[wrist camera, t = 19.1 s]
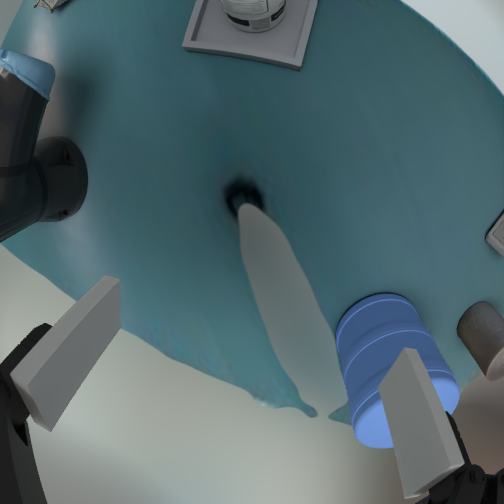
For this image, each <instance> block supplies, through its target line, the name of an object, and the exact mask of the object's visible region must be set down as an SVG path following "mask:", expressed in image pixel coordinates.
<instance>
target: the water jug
mask: <svg viewBox="0 0 504 504" xmlns="http://www.w3.org/2000/svg"><path fill="white" fill-rule="evenodd" d="M336 346H337V350H338V352H339V355H340V359H341V364H342V373H343V379H344V383H345V385H346V389H347V394H348V400H349V406H350V418H351V423H352V427H353V429H354V434H355V437H356V438H357V440H358V441H359V442H360V443H362V444H364V445H366V446H369V447H373V448H391V447H394V446H393V442H392V438H391V434H390V430H389V426H388V422H387V418H386V414H385V411H384V407H383V403H382V400H381V396H380V393H379V389H378V386H379V384H380V383H381V381H382V380H383V379H384V377H385V376H386V374H387V373H388V371H389V370H390V368H391V367H392V365H393V364H394V362H395V361H396V359H397V358H398V356H399V355H400V353H401V352H402V350H403V348H404V347H405V348H412V349H416V350H417V352H418V354H419V356H420V358H421V360H422V362H423V364H424V366H425V368H426V370H427V372H428V374H429V377H430V379H431V381H432V383H433V385H434V387H435V390H436V392H437V394H438V396H439V399H440V401H441V403H442V406H443V408H444V410H445V411H448V413H449V414H450V415H451V414H452V412H453V411H454V409H455V408H456V406H457V404H458V401H459V396H460V390H459V387H458V384H457V382H456V379H455V376H454V374H453V373H452V371H451V369H450V367H449V366H448V365H447V364H446V362H445V360H444V358H443V356H442V355H441V353H440V351H439V349H438V348H437V346H436V343H435V341H434V339H433V337H432V336H431V334H430V332H429V331H428V330H427V329H426V327H425V326H424V324H423V322H422V321H421V319H420V318H419V316H418V313H417V311H416V310H415V308H414V307H413V305H412V304H411V303H410V302H409V301H408V300H407V299H405V298H403V297H401V296H399V295H395V294H378V295H374V296H371V297H368V298H366V299H363V300H362V301H360V302H358V303H357V304H355V305H354V306H353V307H352V308H350V309H349V310H348V311H347V312H346V314H345V315H344V316H343V318H342V319H341V321H340V323H339V325H338V328H337V331H336Z"/></svg>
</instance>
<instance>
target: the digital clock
mask: <svg viewBox="0 0 504 504" xmlns="http://www.w3.org/2000/svg"><path fill="white" fill-rule="evenodd" d="M486 240H487V242H488V243H489V244H490V245H491V246H492V247H493V248H494V249H495V250H496V251H497V252H498V253H499V254H500V255H501V256H502V257H503V258H504V213H503V214H502V215H501V217H500V218H499V219H498V221H497V222H496V223H495V224H494V227H493V228H492V229H491V231H490V232H489V233H488V234H487V236H486Z"/></svg>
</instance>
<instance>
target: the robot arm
mask: <svg viewBox="0 0 504 504" xmlns="http://www.w3.org/2000/svg"><path fill="white" fill-rule="evenodd" d="M54 79H55V69H54V67H53V66H52V65H51V64H49V63H47V62H44V61H42V60H39V59H36V58H33V57H30V56H27V55H24V54H20V53H17V52H13V51H9V50H5V49H2V48H0V242H2V241H4V240H5V239H7V238H9V237H11V236H12V235H14V234H16V233H18V232H19V231H21V230H23V229H25V228H26V227H28V226H30V225H32V224H34V223H36V222H57V221H61V220H64V219H66V218H68V217H70V216H72V215H73V214H75V213H76V212H77V211H78V209H79V208H80V207H81V205H82V203H83V201H84V198H85V195H86V191H87V169H86V165H85V161H84V158H83V156H82V154H81V152H80V150H79V149H78V148H77V146H76V145H75V144H74V143H73V142H72V141H70V140H69V139H67V138H64V137H50V138H46V139H43V140H41V141H39V142H38V143H36V141H37V137H38V133H39V129H40V126H41V122H42V119H43V115H44V112H45V109H46V105H47V102H49V100H50V97H49V95H50V92H51V88H52V85H53V82H54ZM120 328H121V324H120V279H117V278H114V277H111V276H108V275H104V276H103V277H102V278H101V279H100V280H99V281H98V282H97V283H96V284H95V285H94V286H93V287H92V288H91V289H90V290H89V291H88V292H87V293H85V294H84V295H83V296H82V297H81V298H80V299H79V300H78V301H77V302H76V303H75V304H74V305H73V306H72V307H71V308H70V309H69V310H68V311H67V312H66V313H65V315H63V316H62V317H61V319H59V321H58V322H57V323H56V324H55V325H54V326H51V325H49V324H47V323H44V324H42V325H40V326H38V327H36V328H34V329H33V330H32V331H31V332H30V333H29V334H28V335H27V336H26V338H24V339H23V340H22V341H21V342H20V345H19V344H18V346H17V347H16V348H15V349H14V350H13V351H12V352H11V353H10V354H9V355H8V356H7V357H6V358H5V360H4V361H3V362H2V363H1V364H0V504H47V501H46V498H45V495H44V491H43V488H42V485H41V481H40V478H39V474H38V470H37V467H36V462H35V459H34V454H33V449H32V445H31V440H30V434H29V428H28V423H27V421H26V419H27V417H28V416H29V415H31V417H32V418H33V420H34V422H35V423H37V424H38V425H40V426H41V427H43V428H45V429H47V430H48V431H50V432H51V431H52V429H53V428H54V426H55V425H56V423H57V421H58V420H59V418H60V417H61V415H62V413H63V412H64V410H65V409H66V407H67V405H68V404H69V402H70V400H71V399H72V398H73V396H74V395H75V393H76V392H77V390H78V389H79V387H80V386H81V384H82V382H83V381H84V380H85V378H86V377H87V375H88V374H89V372H90V370H91V369H92V367H93V366H94V365H95V363H96V362H97V360H98V358H99V357H100V356H101V355H102V353H103V352H104V350H105V349H106V347H107V346H108V345H109V343H110V342H111V340H112V339H113V338H114V336H115V335H116V333H117V332H118V331H119V329H120ZM378 389H379V393H380V396H381V400H382V403H383V407H384V411H385V414H386V418H387V422H388V426H389V430H390V434H391V438H392V442H393V446H394V450H395V454H396V459H397V464H398V468H399V473H400V478H401V483H402V488H403V493H404V498H405V499H406V498H412V497H417V496H420V495H422V494H423V493H425V492H426V491H427V490H429V494H430V495H428V496H427V497H425V498H423V499H422V500H420V501H419V502H417V503H415V504H504V468H503V469H501V470H500V471H499V472H497V473H496V474H495V475H490V474H485V472H484V470H483V469H482V468H481V467H480V466H478V465H475V464H474V465H472V464H471V462H470V460H469V457H468V454H467V451H466V449H465V446H464V444H463V441H462V438H460V433H459V431H458V430H457V429H458V428H457V426H456V423H455V421H454V419H453V418H452V417H451V415H450V414H449V413H448V411H445V410H444V408H443V406H442V403H441V401H440V399H439V396H438V394H437V392H436V390H435V387H434V385H433V383H432V381H431V379H430V377H429V374H428V372H427V370H426V368H425V366H424V364H423V362H422V360H421V358H420V356H419V354H418V352H417V350H416V349H412V348H405V347H404V348H403V350H402V352H401V353H400V355H399V356H398V358H397V359H396V361H395V362H394V364H393V365H392V367H391V368H390V370H389V371H388V373H387V374H386V376H385V377H384V379H383V380H382V381H381V383H380V384H379V386H378Z"/></svg>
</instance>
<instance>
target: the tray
mask: <svg viewBox="0 0 504 504" xmlns="http://www.w3.org/2000/svg"><path fill="white" fill-rule="evenodd" d="M317 3H318V0H286V11H285V14H284V17H283V19H282V20H281V21H280V22H279V23H278V25H276V26H274V27H273V28H271V29H269V30H266V31H261V32H246V31H243V30H240V29H237V28H236V27H235V26H233V25H232V24H231V23H230V22H229V20H228V19H227V17H226V15H225V13H224V11H223V10H222V8H221V6H220V4H219V2H218V0H196V3H195V6H194V9H193V12H192V15H191V18H190V21H189V24H188V27H187V31H186V34H185V37H184V40H183V44H182V47H183V48H184V49H185V50H187V51H188V52H196V53H206V54H214V55H221V56H228V57H235V58H241V59H247V60H252V61H257V62H262V63H267V64H272V65H276V66H281V67H285V68H289V69H293V70H297V71H300V68H301V64H302V60H303V57H304V53H305V49H306V45H307V41H308V37H309V33H310V30H311V26H312V22H313V18H314V14H315V10H316V6H317Z"/></svg>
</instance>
